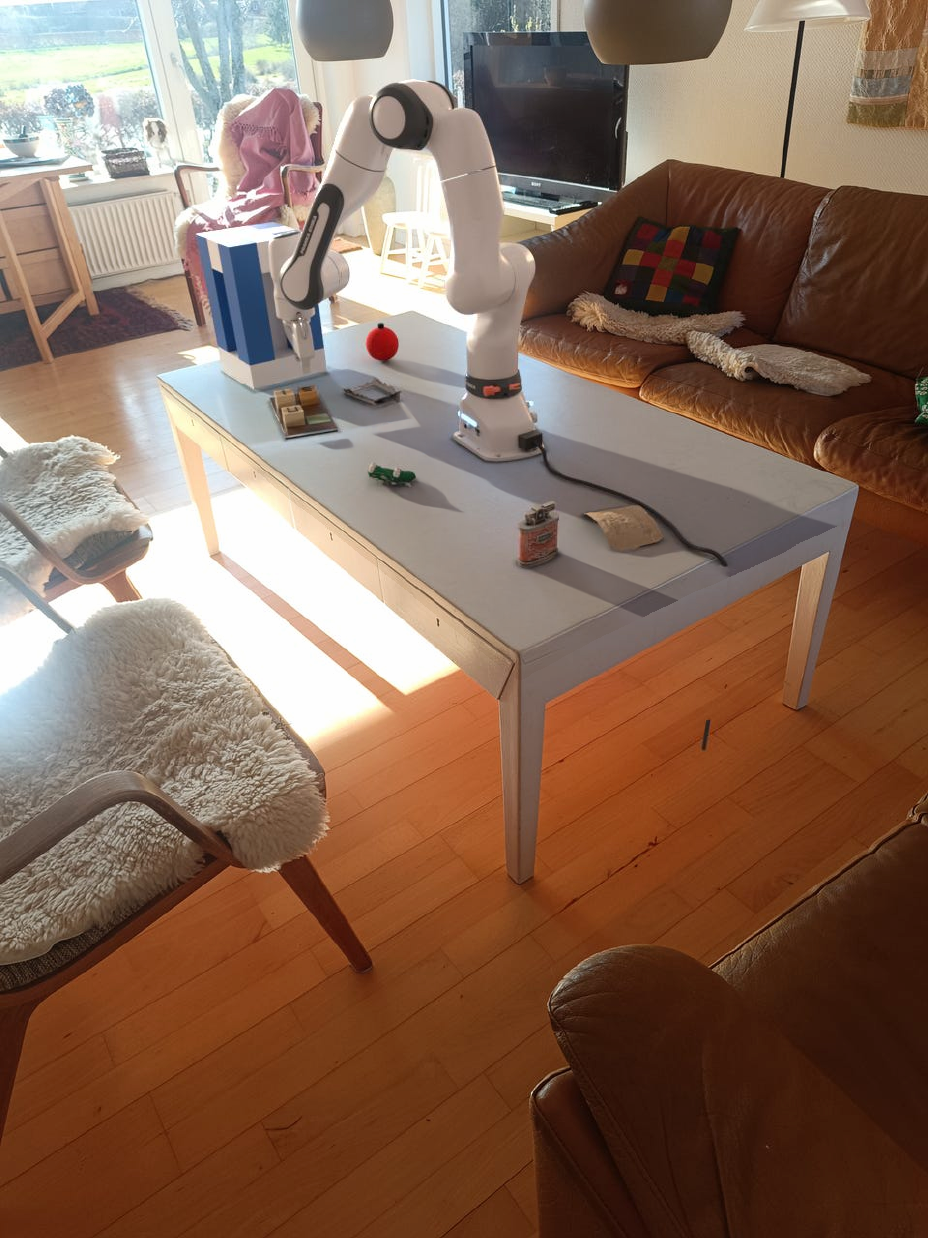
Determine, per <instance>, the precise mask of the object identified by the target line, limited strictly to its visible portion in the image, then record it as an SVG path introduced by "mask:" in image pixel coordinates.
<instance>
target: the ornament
mask: <svg viewBox="0 0 928 1238" xmlns="http://www.w3.org/2000/svg"><path fill="white" fill-rule="evenodd" d="M399 343H400V342H399V339H398V335H397V334H396V333H395V331H394V330H392V329H391V328H390V327H387V326H385V323H383V322H379V323H377V325H376V327H374V328H373V329H371V331H369V333H368V335H367V336H366V339H365V347H366V350H367V353H368V354H369V355H370V357H371V358H373V359H374V360H375V361H379V362H386V361H389V360H391V359H393V358H394V357H395V356H396V354H397V352H398V351H399V346H400V344H399Z"/></svg>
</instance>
